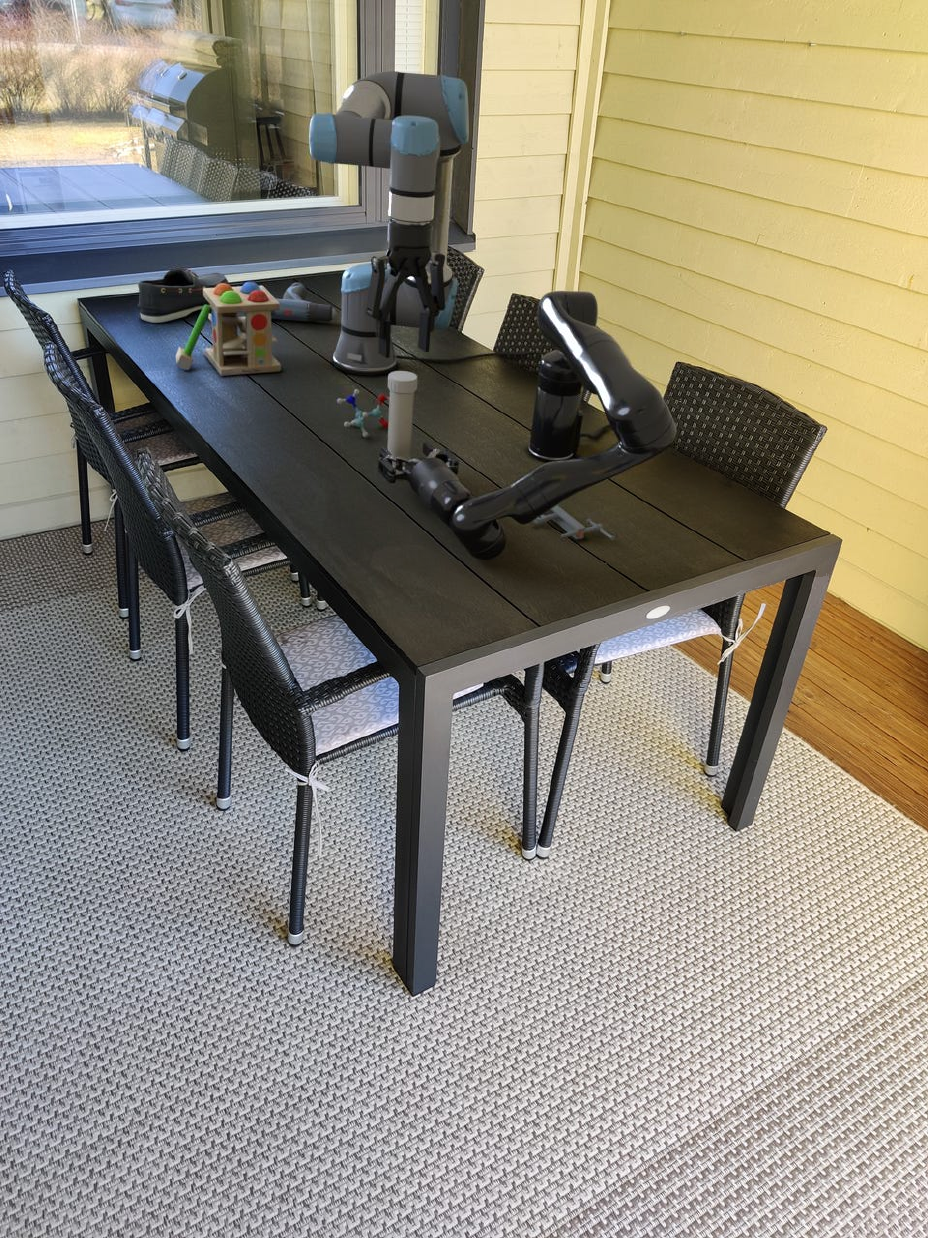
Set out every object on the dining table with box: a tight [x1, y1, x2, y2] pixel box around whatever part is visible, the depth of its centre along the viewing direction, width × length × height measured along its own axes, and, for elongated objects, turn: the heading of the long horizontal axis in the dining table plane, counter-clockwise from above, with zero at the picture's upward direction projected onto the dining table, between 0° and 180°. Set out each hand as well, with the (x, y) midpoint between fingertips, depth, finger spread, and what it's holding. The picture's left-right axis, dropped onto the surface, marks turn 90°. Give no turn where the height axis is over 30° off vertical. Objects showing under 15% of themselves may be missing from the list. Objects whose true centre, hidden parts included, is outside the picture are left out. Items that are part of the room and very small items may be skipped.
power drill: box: [271, 282, 338, 322], centre depth 265 cm, size 5×19×20 cm
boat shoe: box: [137, 266, 230, 324], centre depth 260 cm, size 13×33×10 cm, turn 147°
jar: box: [386, 390, 415, 467], centre depth 186 cm, size 5×5×19 cm
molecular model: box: [336, 388, 389, 438], centre depth 204 cm, size 12×10×10 cm
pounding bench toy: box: [174, 281, 282, 377], centre depth 225 cm, size 23×14×18 cm, turn 116°
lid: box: [387, 370, 418, 393], centre depth 181 cm, size 5×5×2 cm
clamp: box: [533, 505, 616, 542], centre depth 177 cm, size 15×2×10 cm
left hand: (404, 352), depth 178 cm, fingers open, 8 cm apart
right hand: (403, 449), depth 185 cm, fingers open, 8 cm apart
